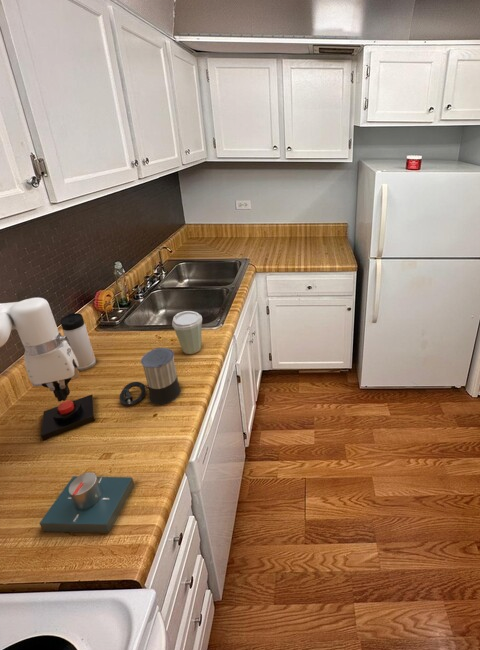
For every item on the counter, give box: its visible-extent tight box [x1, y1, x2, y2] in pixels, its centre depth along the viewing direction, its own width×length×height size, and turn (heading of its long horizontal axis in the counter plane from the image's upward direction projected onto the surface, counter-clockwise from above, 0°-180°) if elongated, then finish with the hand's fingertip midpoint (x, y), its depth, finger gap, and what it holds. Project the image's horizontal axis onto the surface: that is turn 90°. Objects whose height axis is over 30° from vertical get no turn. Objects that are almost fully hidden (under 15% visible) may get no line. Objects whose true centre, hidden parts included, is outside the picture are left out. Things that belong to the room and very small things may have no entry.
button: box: [57, 400, 75, 415], centre depth 95 cm, size 4×4×2 cm
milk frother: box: [119, 347, 182, 407], centre depth 102 cm, size 14×16×15 cm
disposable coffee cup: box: [171, 310, 203, 355], centre depth 124 cm, size 11×11×15 cm
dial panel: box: [39, 475, 135, 534], centre depth 73 cm, size 14×10×3 cm
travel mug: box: [60, 312, 97, 372], centre depth 115 cm, size 6×7×20 cm
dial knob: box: [69, 471, 102, 511], centre depth 72 cm, size 5×5×5 cm
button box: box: [40, 394, 96, 441], centre depth 96 cm, size 12×10×4 cm
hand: (63, 397), depth 94 cm, fingers closed
